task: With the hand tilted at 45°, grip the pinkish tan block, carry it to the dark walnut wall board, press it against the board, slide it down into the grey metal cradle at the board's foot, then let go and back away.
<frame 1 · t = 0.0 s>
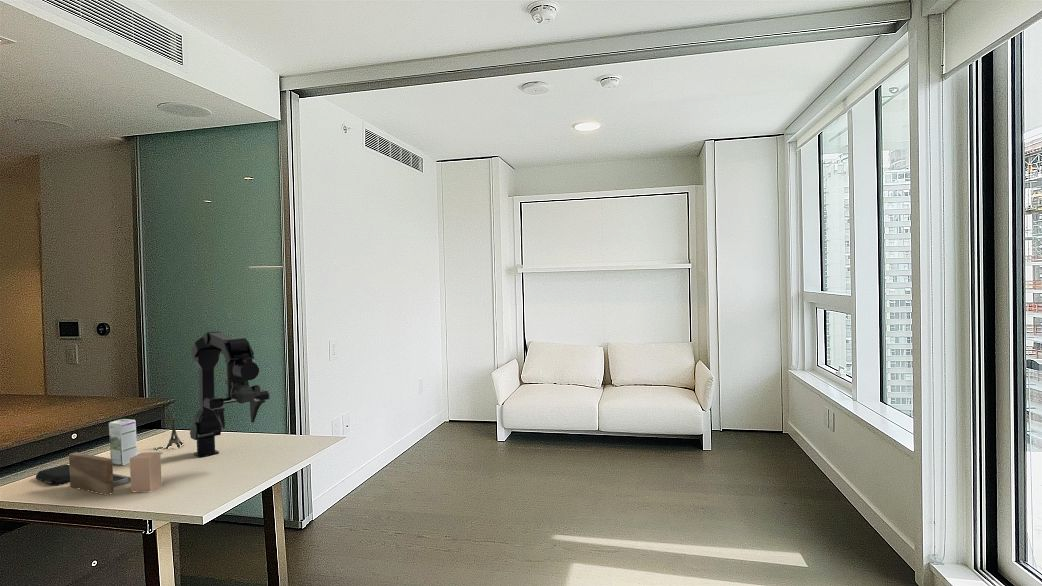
hand: (238, 425, 191), 15 cm above the table, tool pointing down, fingers open, 9 cm apart
cleat board: (106, 485, 180), on the table
pinkish tan block: (146, 488, 176), on the table
syrup box: (124, 463, 202), on the table
eiffel tower figurine: (174, 448, 220), on the table
carrying case or bag: (60, 480, 186), on the table
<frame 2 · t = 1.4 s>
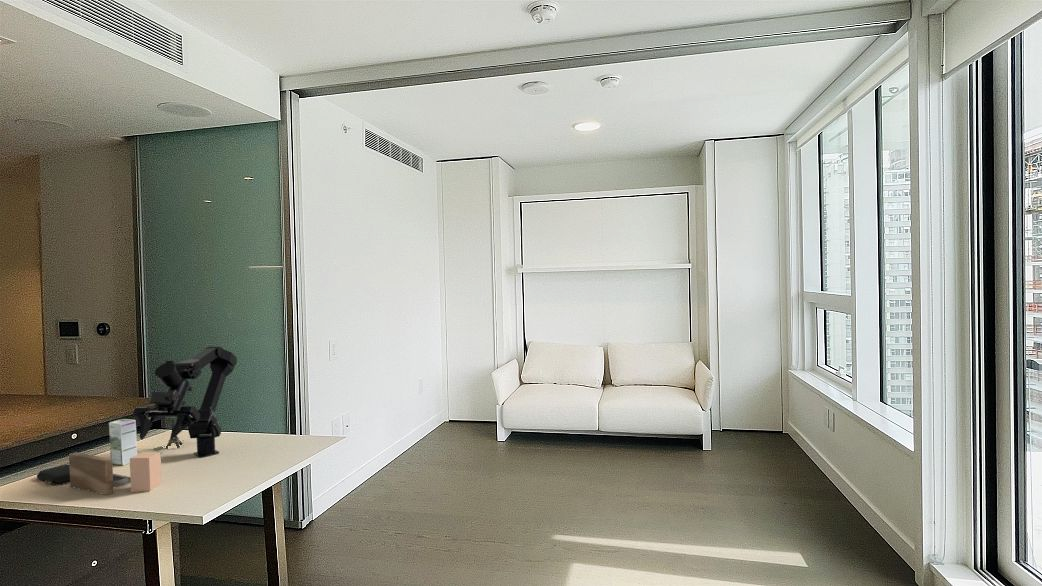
hand: (156, 438, 181), 13 cm above the table, tool tilted 45°, fingers open, 9 cm apart
nothing on the table moved.
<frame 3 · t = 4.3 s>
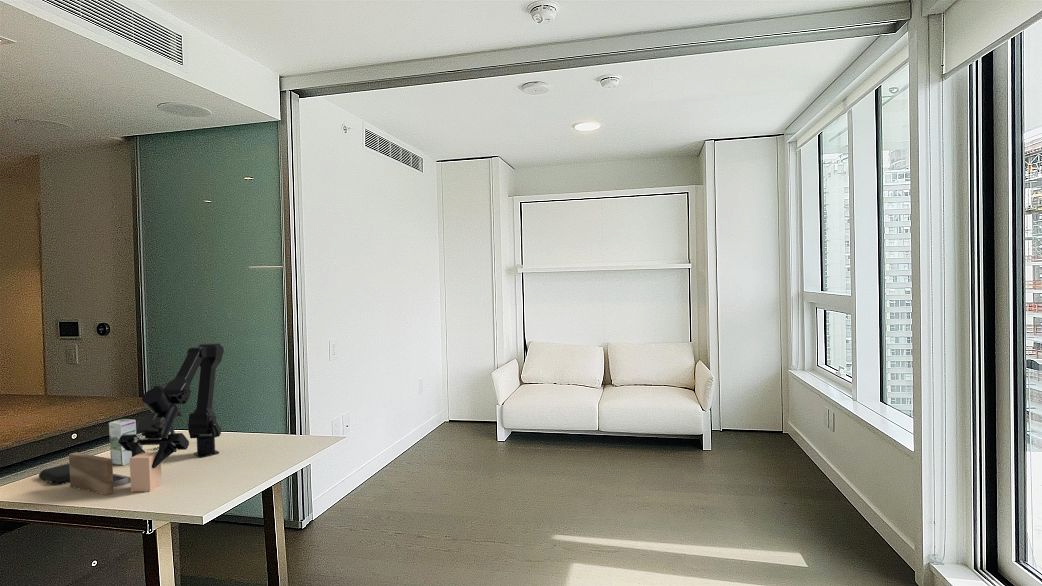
hand: (142, 467, 174), 7 cm above the table, tool tilted 45°, fingers closed on pinkish tan block, 6 cm apart
pinkish tan block: (146, 488, 176), on the table, touching gripper
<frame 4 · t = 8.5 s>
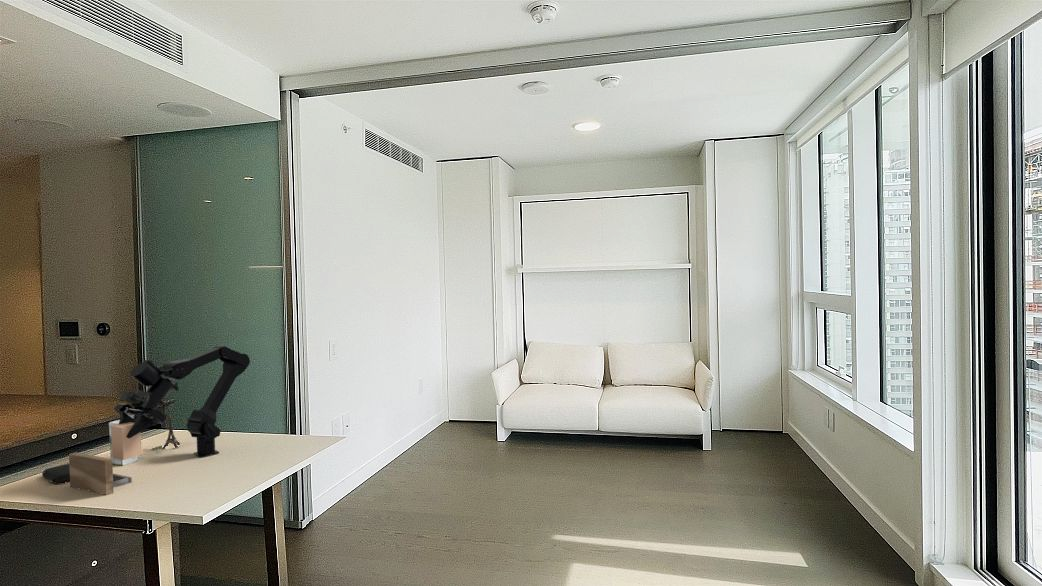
hand: (121, 436, 184), 14 cm above the table, tool tilted 45°, fingers closed on pinkish tan block, 6 cm apart
pinkish tan block: (127, 456, 185), point 7 cm above the table, touching gripper
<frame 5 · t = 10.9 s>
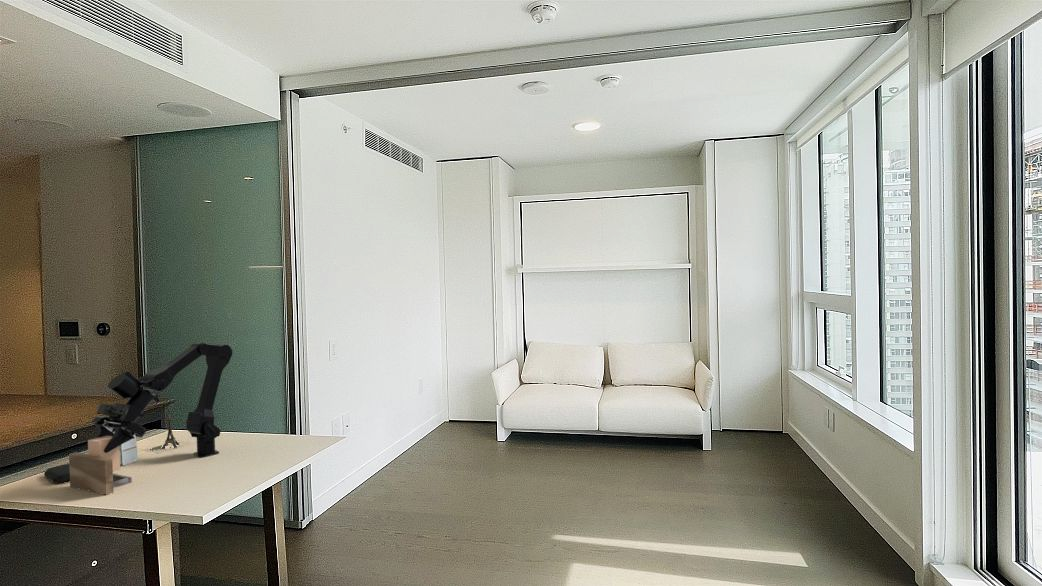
hand: (99, 451, 178), 11 cm above the table, tool tilted 45°, fingers closed on pinkish tan block, 6 cm apart
pinkish tan block: (104, 471, 179), point 4 cm above the table, touching gripper
when the fingers open (7 cm above the table, at t = 12.7 s): pinkish tan block stays where it is, resting in cleat board.
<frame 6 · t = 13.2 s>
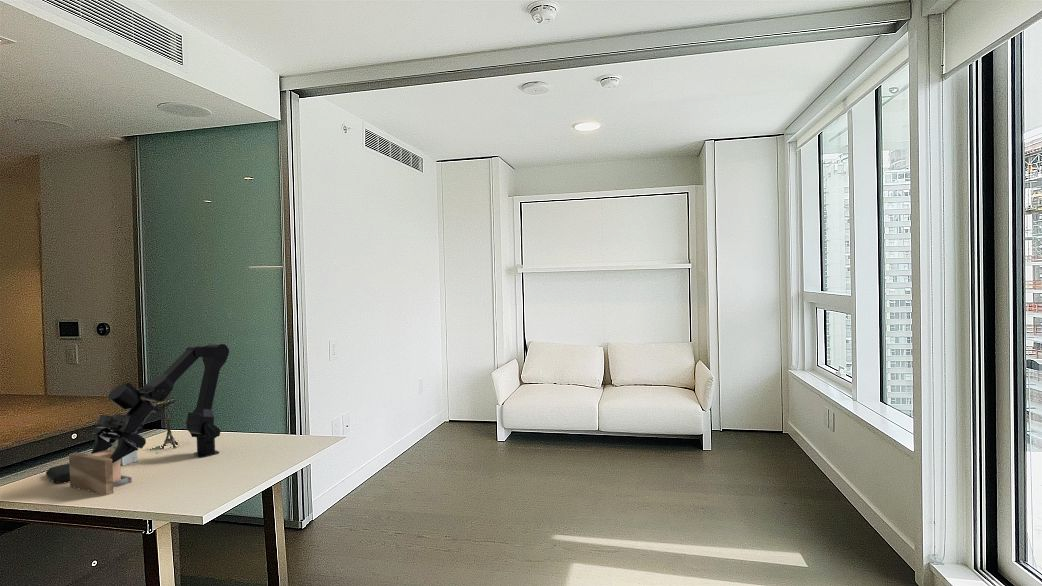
hand: (99, 462, 178), 8 cm above the table, tool tilted 45°, fingers open, 9 cm apart
pinkish tan block: (105, 485, 179), resting in cleat board
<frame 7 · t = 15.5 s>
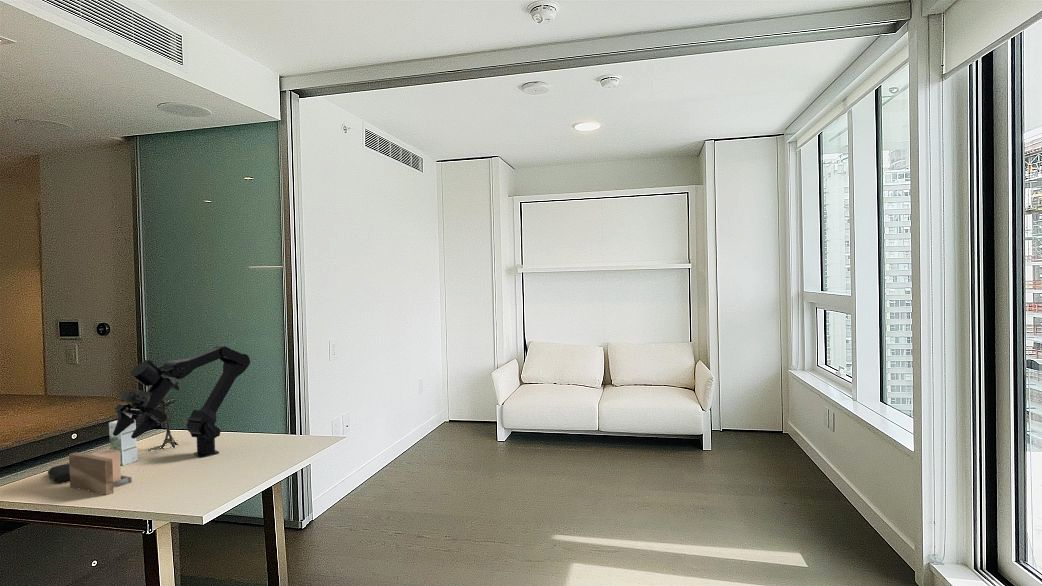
hand: (123, 436, 184), 14 cm above the table, tool tilted 45°, fingers open, 9 cm apart
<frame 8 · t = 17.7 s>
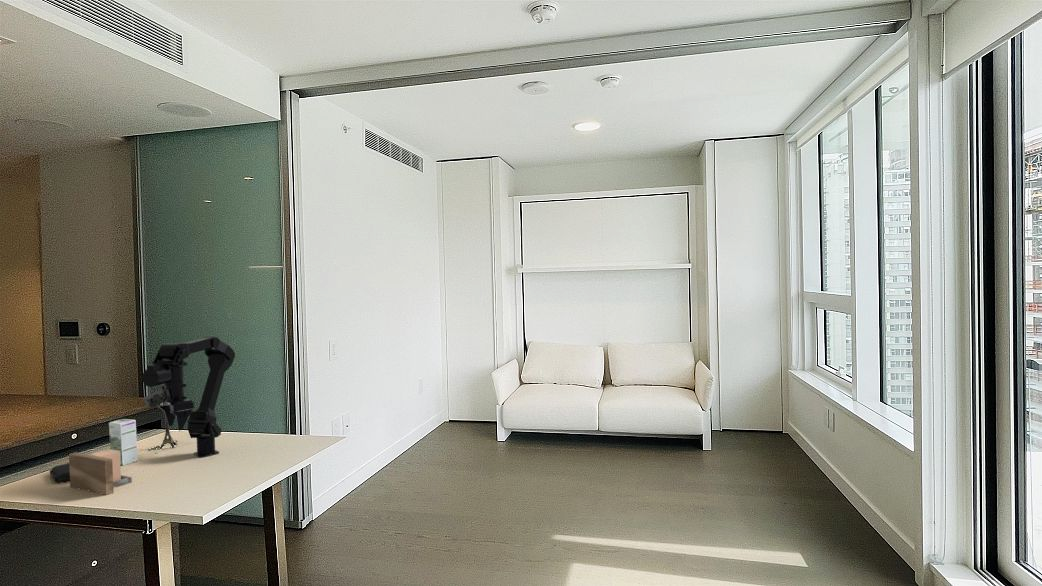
hand: (175, 428, 195), 13 cm above the table, tool pointing down, fingers open, 9 cm apart
at the end: pinkish tan block 0.3 cm off-centre on the cleat board, point 0.0 cm above the cleat board's base; pinkish tan block tilted 0°; the gripper is holding nothing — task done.
